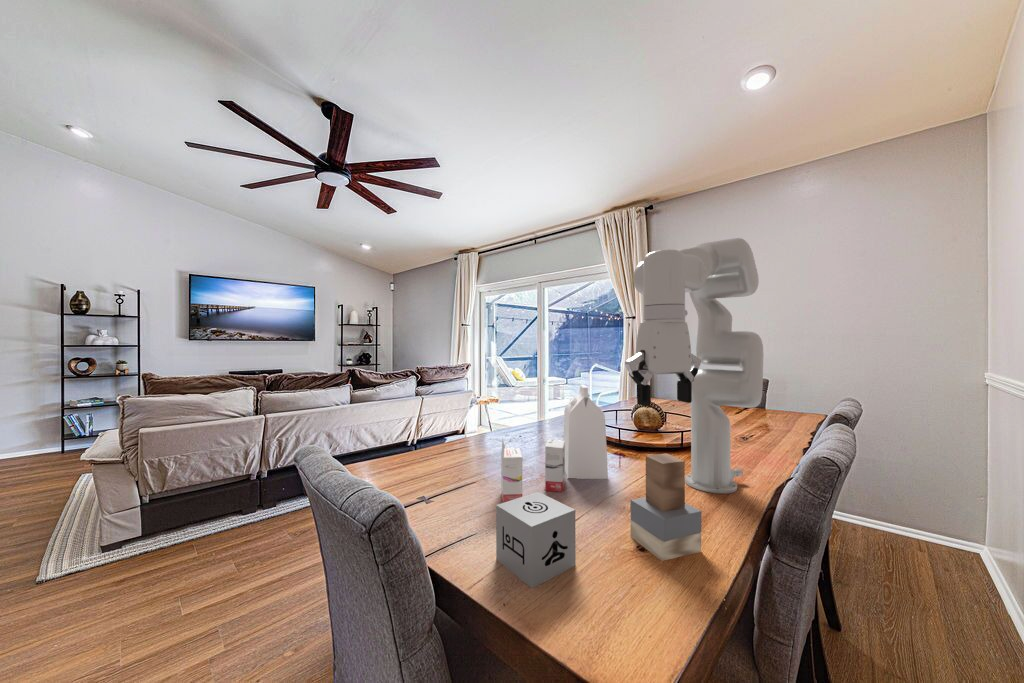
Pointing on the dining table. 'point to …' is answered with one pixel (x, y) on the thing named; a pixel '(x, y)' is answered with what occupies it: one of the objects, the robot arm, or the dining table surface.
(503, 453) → the ink cartridge box
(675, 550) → the tower base
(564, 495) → the dining table surface
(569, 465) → the milk
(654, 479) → the walnut block
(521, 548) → the icon cube
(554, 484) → the ink box
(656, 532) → the tower top
